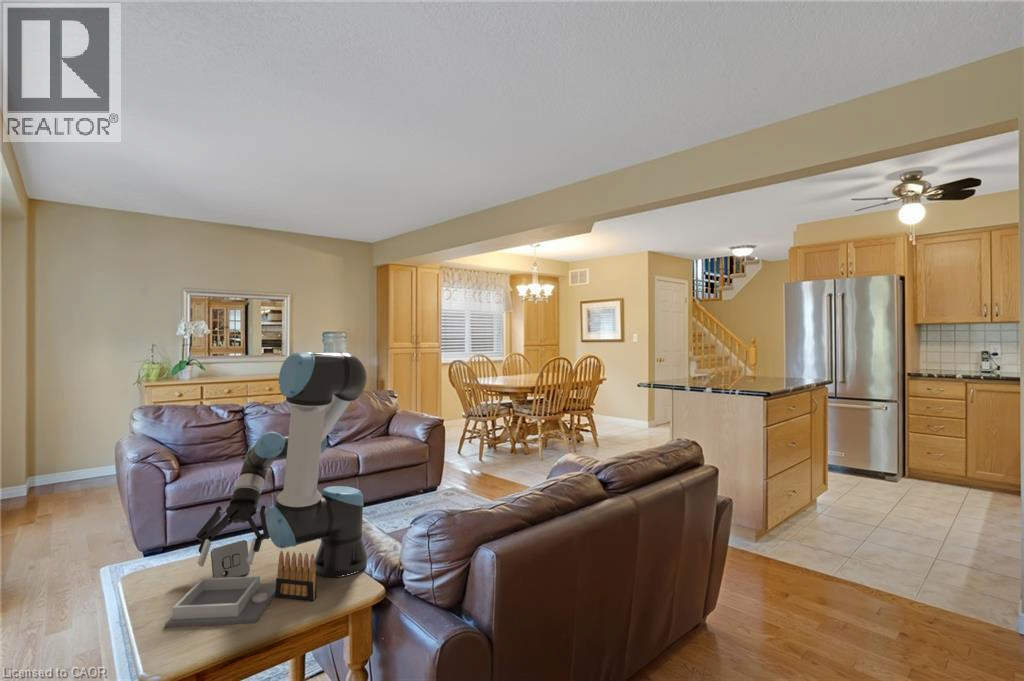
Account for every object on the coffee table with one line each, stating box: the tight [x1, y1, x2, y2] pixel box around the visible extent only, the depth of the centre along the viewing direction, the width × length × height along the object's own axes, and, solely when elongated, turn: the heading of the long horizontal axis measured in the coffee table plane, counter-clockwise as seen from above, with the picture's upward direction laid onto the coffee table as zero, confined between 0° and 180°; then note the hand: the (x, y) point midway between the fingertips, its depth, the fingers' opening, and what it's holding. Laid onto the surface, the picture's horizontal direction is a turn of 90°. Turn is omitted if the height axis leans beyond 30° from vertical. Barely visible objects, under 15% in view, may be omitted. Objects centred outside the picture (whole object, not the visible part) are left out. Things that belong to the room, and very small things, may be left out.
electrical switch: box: [210, 539, 251, 578], centre depth 142 cm, size 9×5×9 cm, turn 141°
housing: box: [164, 575, 276, 628], centre depth 127 cm, size 20×18×4 cm
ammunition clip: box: [274, 550, 317, 603], centre depth 131 cm, size 11×2×12 cm, turn 82°
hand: (224, 563), depth 139 cm, fingers open, 12 cm apart
